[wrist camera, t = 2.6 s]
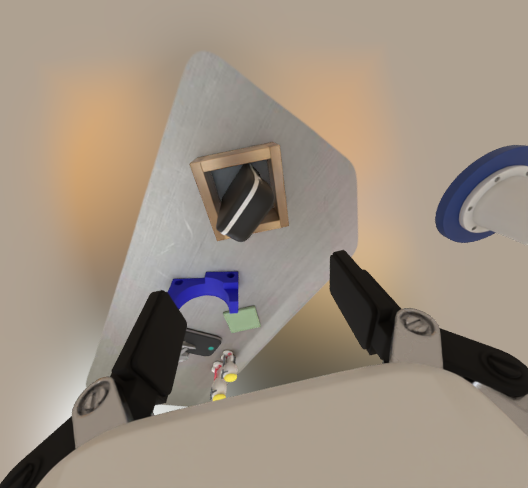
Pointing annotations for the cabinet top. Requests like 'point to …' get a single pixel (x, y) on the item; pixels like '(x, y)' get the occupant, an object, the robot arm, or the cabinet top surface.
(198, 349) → the smartphone
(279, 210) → the holder
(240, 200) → the black zipper case
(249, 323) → the mat
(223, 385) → the toy figures
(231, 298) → the cable clip
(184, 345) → the caliper
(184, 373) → the cabinet top surface
